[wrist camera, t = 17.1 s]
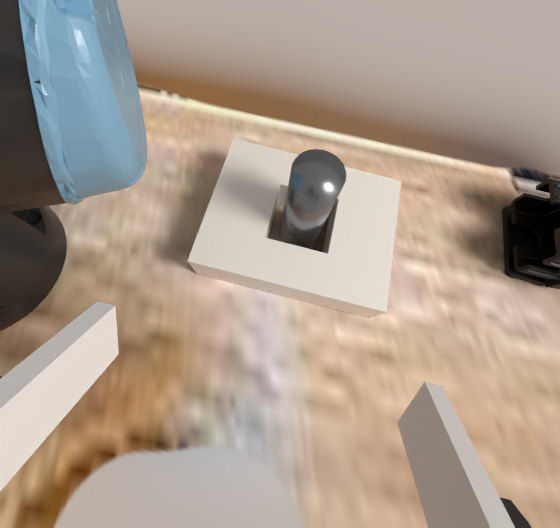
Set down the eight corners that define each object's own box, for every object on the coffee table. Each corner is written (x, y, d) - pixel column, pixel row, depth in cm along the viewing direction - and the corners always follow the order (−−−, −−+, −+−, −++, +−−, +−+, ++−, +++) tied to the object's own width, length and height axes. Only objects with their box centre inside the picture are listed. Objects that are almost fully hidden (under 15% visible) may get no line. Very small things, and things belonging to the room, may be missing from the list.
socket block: (196, 273, 28) (187, 261, 24) (236, 163, 32) (233, 138, 28) (368, 317, 28) (386, 312, 24) (384, 201, 32) (401, 181, 28)
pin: (275, 247, 29) (285, 188, 19) (284, 215, 31) (297, 143, 20) (311, 256, 29) (341, 202, 19) (318, 224, 31) (350, 157, 20)
